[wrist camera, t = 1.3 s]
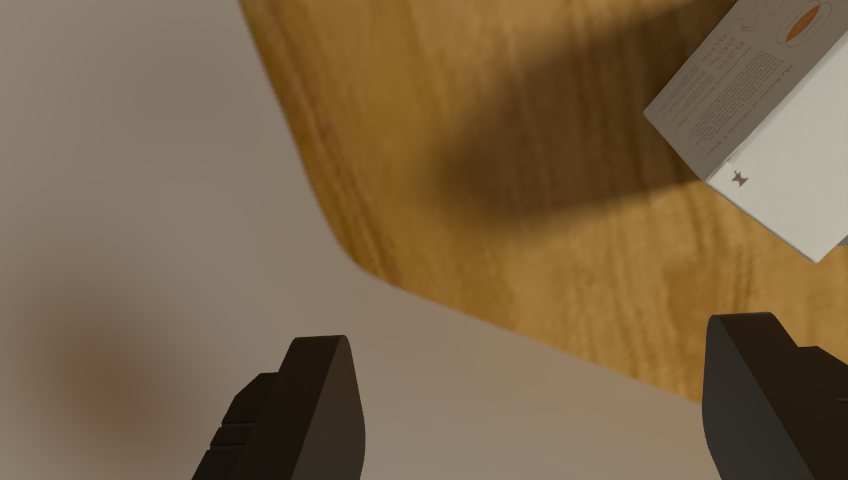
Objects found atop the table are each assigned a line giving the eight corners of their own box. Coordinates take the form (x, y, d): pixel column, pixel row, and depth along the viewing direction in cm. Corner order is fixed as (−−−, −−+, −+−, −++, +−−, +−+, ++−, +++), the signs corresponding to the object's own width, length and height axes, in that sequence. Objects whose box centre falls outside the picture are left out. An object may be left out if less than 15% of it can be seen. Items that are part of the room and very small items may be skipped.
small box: (722, 175, 34) (814, 272, 25) (637, 111, 33) (699, 186, 24) (851, 42, 31) (1012, 94, 22) (762, -34, 30) (890, -13, 21)
